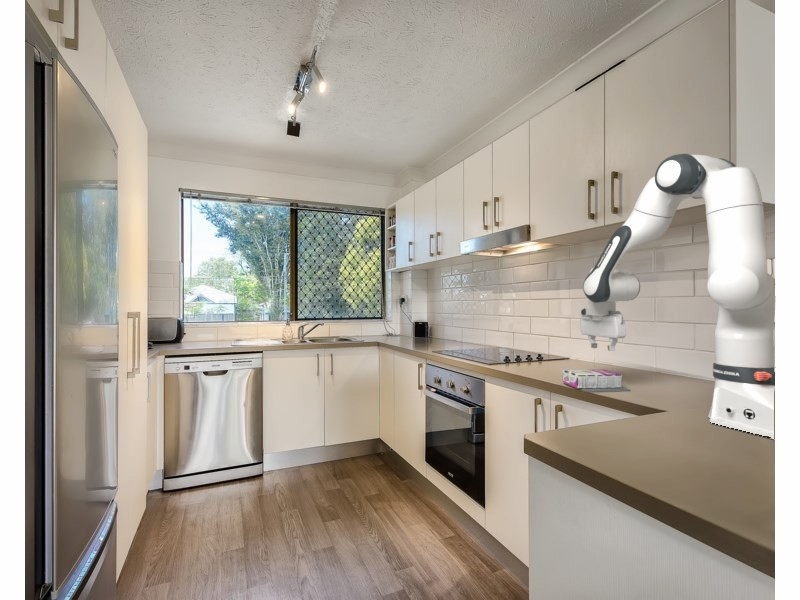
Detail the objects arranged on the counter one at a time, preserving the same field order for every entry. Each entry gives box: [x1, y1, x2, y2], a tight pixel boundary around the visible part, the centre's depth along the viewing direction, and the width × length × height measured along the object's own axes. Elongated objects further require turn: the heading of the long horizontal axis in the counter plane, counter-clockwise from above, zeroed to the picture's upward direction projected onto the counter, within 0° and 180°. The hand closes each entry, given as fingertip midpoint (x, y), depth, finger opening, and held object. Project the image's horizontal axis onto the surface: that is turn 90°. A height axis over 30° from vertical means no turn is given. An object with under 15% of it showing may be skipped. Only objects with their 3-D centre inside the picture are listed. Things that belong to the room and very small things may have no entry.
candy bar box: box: [562, 369, 623, 389], centre depth 143 cm, size 11×5×16 cm
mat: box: [565, 383, 631, 393], centre depth 141 cm, size 14×16×1 cm
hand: (602, 349), depth 141 cm, fingers open, 8 cm apart
